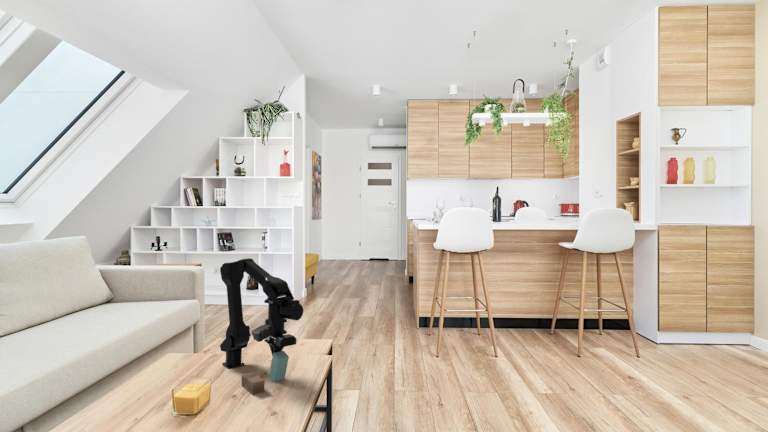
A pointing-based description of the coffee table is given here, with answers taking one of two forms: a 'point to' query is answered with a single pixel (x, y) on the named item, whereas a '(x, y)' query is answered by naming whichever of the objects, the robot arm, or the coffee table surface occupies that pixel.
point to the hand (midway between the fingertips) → (275, 360)
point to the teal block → (278, 366)
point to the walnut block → (253, 383)
